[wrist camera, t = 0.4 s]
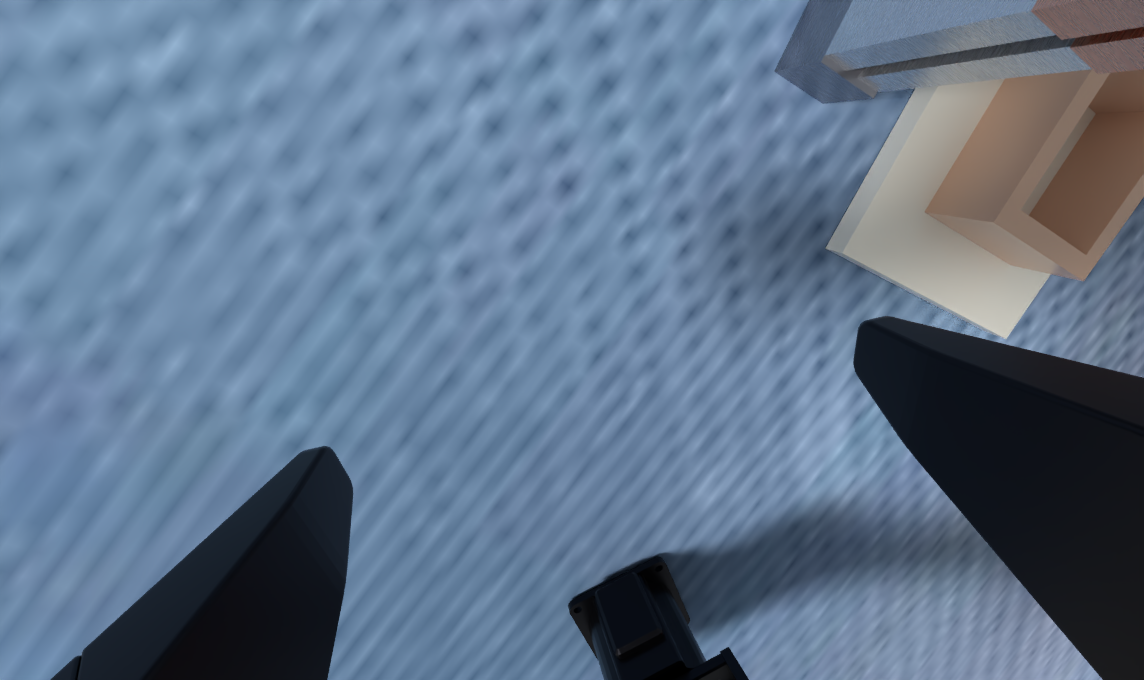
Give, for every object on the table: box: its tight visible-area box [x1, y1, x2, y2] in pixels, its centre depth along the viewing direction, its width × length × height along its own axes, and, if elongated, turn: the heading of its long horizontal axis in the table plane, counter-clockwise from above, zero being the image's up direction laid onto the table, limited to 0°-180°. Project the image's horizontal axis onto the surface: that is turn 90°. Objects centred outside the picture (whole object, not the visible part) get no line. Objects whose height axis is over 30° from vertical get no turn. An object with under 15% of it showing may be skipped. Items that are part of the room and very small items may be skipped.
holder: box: [825, 69, 1144, 339], centre depth 24 cm, size 16×14×5 cm
